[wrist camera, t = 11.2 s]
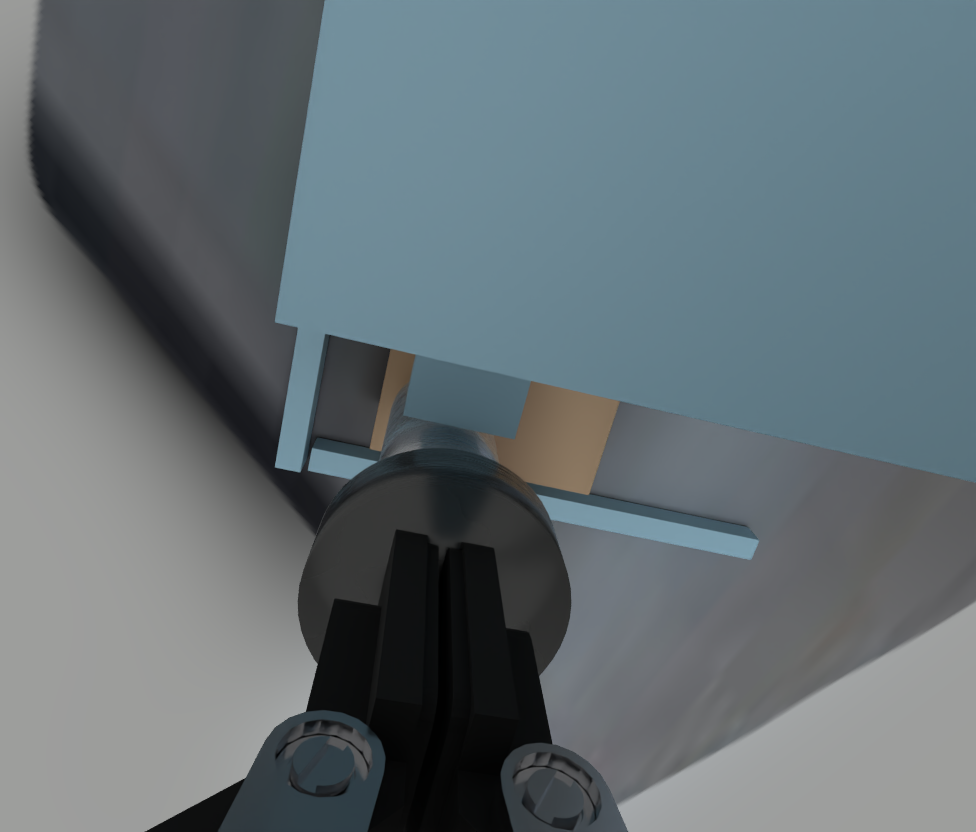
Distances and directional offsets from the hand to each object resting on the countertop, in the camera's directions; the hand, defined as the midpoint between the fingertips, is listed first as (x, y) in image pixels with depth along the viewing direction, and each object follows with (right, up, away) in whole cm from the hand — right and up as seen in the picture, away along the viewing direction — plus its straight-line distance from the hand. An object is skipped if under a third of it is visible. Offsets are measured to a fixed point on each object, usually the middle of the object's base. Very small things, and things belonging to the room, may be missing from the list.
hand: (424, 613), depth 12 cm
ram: (0, +3, +9) cm, 10 cm away
